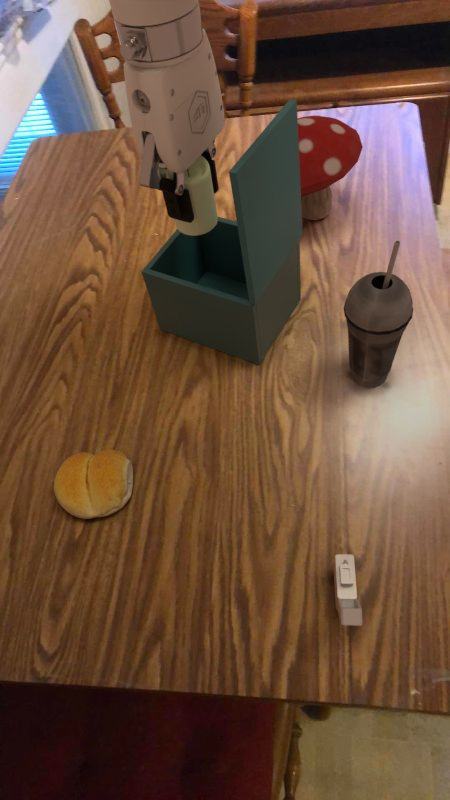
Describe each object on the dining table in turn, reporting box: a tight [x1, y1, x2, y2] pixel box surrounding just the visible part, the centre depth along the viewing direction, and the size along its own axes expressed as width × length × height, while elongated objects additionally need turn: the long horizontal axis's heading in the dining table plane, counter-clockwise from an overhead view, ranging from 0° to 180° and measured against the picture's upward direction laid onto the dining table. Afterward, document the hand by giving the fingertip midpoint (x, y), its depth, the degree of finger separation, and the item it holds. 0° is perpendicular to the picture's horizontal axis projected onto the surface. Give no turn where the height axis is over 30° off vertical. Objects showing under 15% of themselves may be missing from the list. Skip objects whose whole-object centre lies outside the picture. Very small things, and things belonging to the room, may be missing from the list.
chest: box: [141, 216, 302, 366], centre depth 74 cm, size 16×13×11 cm
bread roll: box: [53, 448, 134, 520], centre depth 64 cm, size 8×9×4 cm
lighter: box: [333, 553, 363, 626], centre depth 52 cm, size 7×2×8 cm, turn 177°
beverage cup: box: [343, 240, 414, 389], centre depth 62 cm, size 7×7×20 cm
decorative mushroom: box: [297, 115, 363, 221], centre depth 83 cm, size 16×16×15 cm
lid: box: [228, 98, 303, 305], centre depth 60 cm, size 17×13×1 cm
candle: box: [166, 155, 219, 236], centre depth 64 cm, size 5×5×8 cm
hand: (193, 202), depth 65 cm, fingers closed on candle, 4 cm apart
